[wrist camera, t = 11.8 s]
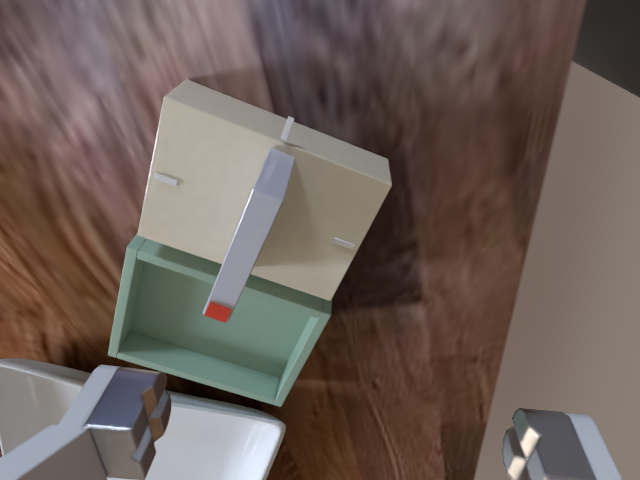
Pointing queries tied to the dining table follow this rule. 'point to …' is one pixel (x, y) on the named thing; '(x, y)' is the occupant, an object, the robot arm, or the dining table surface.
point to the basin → (212, 324)
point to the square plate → (171, 449)
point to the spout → (250, 234)
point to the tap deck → (239, 179)
